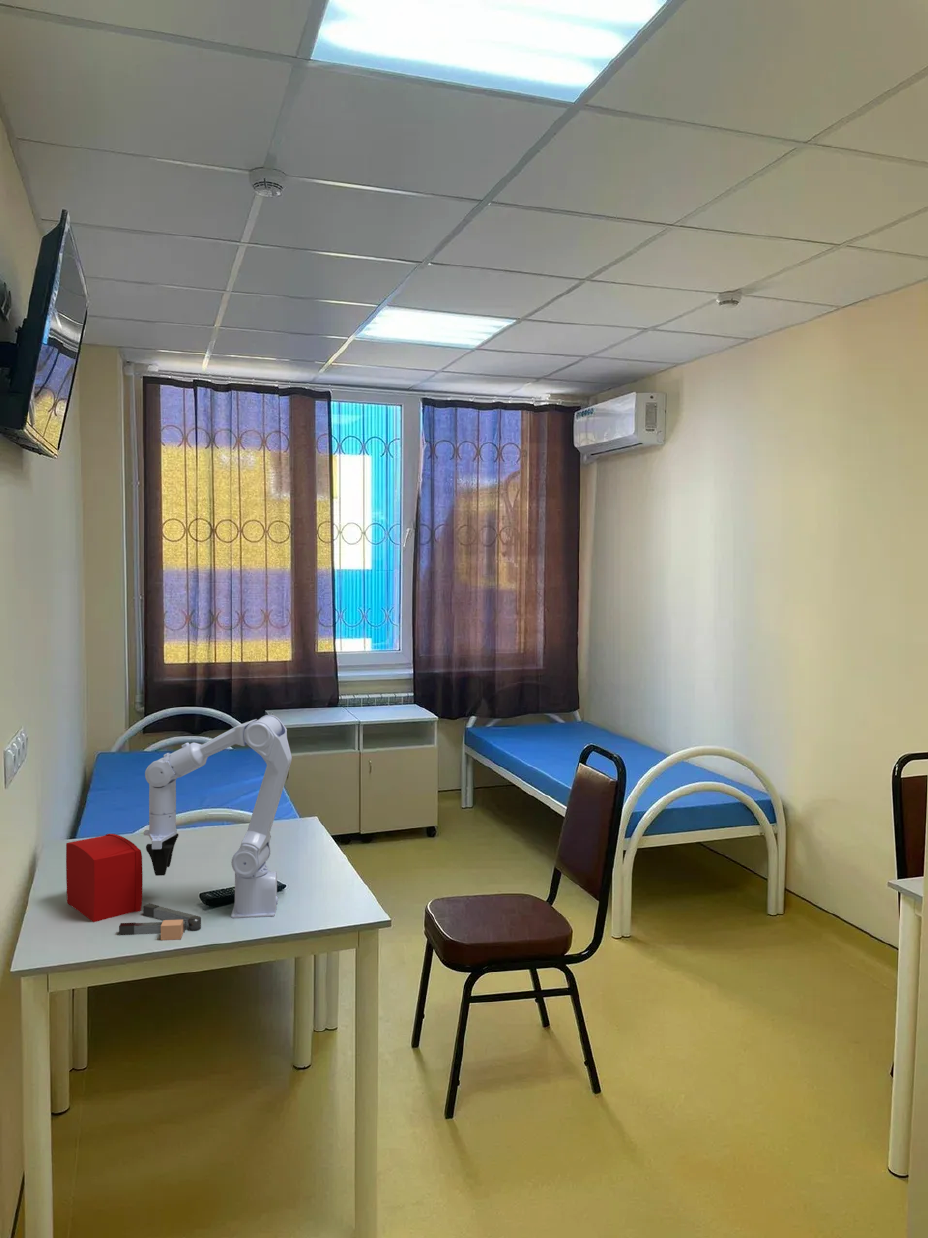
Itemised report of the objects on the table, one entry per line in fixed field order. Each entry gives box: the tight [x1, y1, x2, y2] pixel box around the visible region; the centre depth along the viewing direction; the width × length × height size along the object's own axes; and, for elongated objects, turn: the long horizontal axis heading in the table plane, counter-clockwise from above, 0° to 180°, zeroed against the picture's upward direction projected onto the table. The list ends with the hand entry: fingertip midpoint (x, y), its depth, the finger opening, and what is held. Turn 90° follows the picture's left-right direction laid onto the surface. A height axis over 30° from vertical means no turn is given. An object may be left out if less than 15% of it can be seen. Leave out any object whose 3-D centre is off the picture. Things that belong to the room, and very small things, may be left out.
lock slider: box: [160, 920, 184, 941], centre depth 185 cm, size 4×3×3 cm
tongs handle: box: [118, 921, 187, 936], centre depth 187 cm, size 13×2×2 cm, turn 99°
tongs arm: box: [142, 902, 202, 932], centre depth 193 cm, size 16×3×2 cm, turn 64°
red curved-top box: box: [65, 833, 144, 923], centre depth 201 cm, size 16×11×15 cm
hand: (162, 871), depth 201 cm, fingers open, 5 cm apart
